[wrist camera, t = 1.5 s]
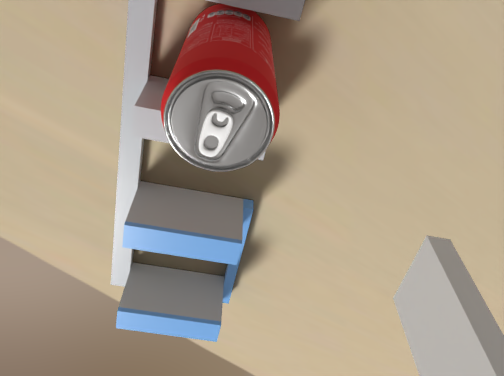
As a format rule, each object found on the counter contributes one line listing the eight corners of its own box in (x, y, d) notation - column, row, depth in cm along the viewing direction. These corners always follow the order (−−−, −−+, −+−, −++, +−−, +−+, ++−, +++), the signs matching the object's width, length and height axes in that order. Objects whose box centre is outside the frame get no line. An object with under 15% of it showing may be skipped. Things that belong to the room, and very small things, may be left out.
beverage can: (283, 17, 29) (300, 91, 19) (252, 91, 31) (253, 191, 21) (203, -16, 28) (177, 44, 18) (178, 64, 30) (143, 154, 20)
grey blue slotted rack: (137, -75, 26) (113, -65, 22) (314, -33, 27) (326, -15, 23) (113, 276, 41) (96, 325, 36) (228, 293, 42) (226, 343, 38)
